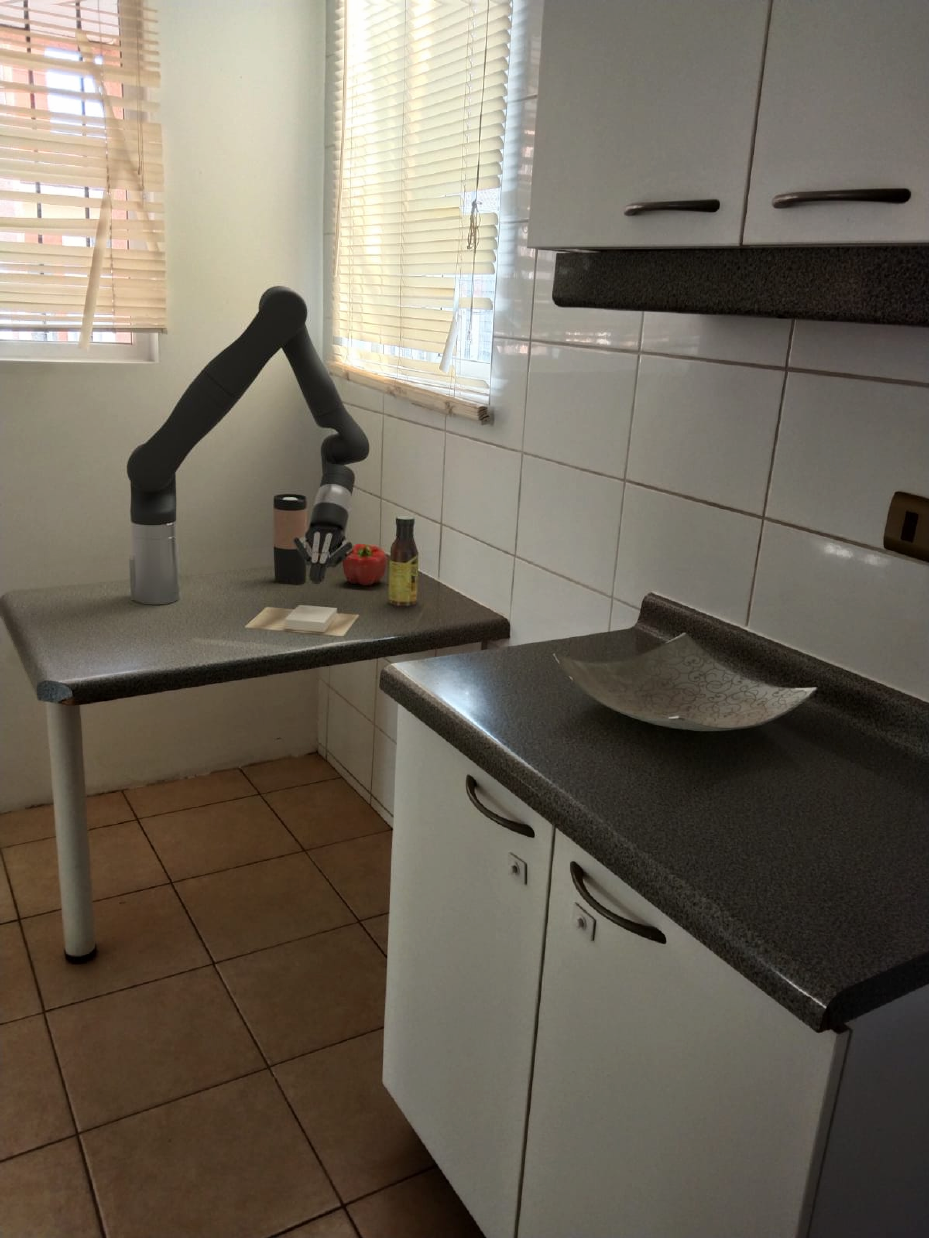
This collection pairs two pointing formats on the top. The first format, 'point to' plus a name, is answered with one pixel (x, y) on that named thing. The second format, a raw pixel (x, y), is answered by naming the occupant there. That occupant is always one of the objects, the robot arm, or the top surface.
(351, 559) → the vegetable
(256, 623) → the board
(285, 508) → the travel mug
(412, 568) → the sauce bottle
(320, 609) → the tile
